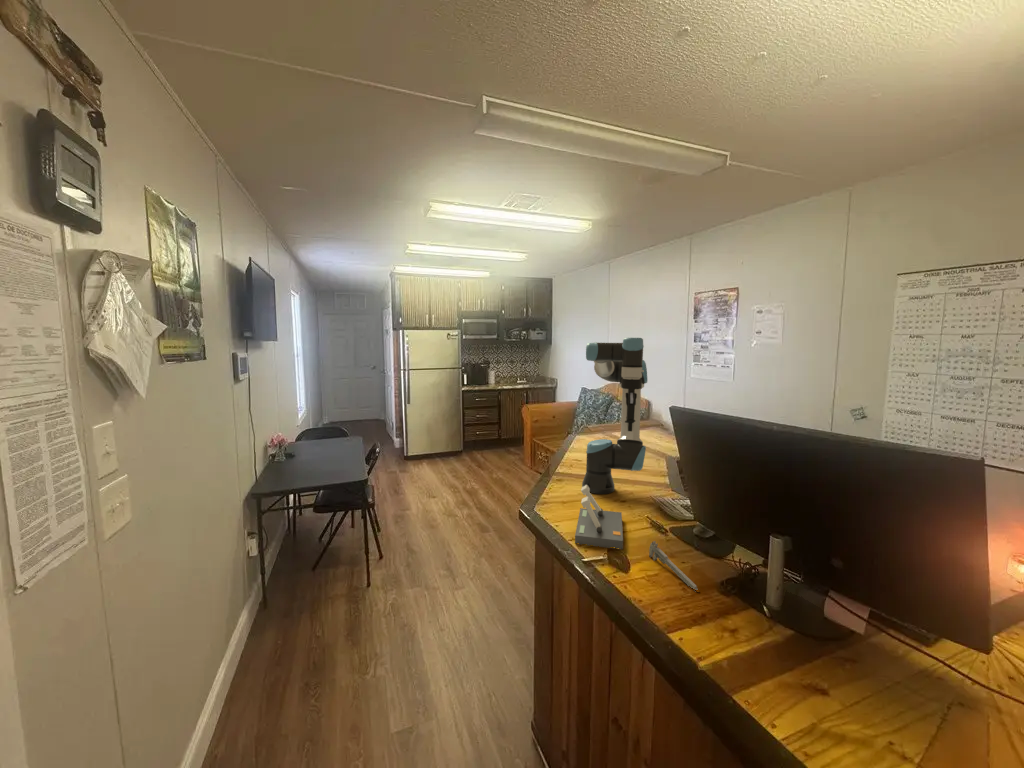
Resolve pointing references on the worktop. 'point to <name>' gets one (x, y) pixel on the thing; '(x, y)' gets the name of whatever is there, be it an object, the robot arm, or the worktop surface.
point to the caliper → (669, 563)
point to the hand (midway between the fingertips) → (629, 438)
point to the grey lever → (591, 513)
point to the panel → (610, 529)
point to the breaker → (592, 499)
